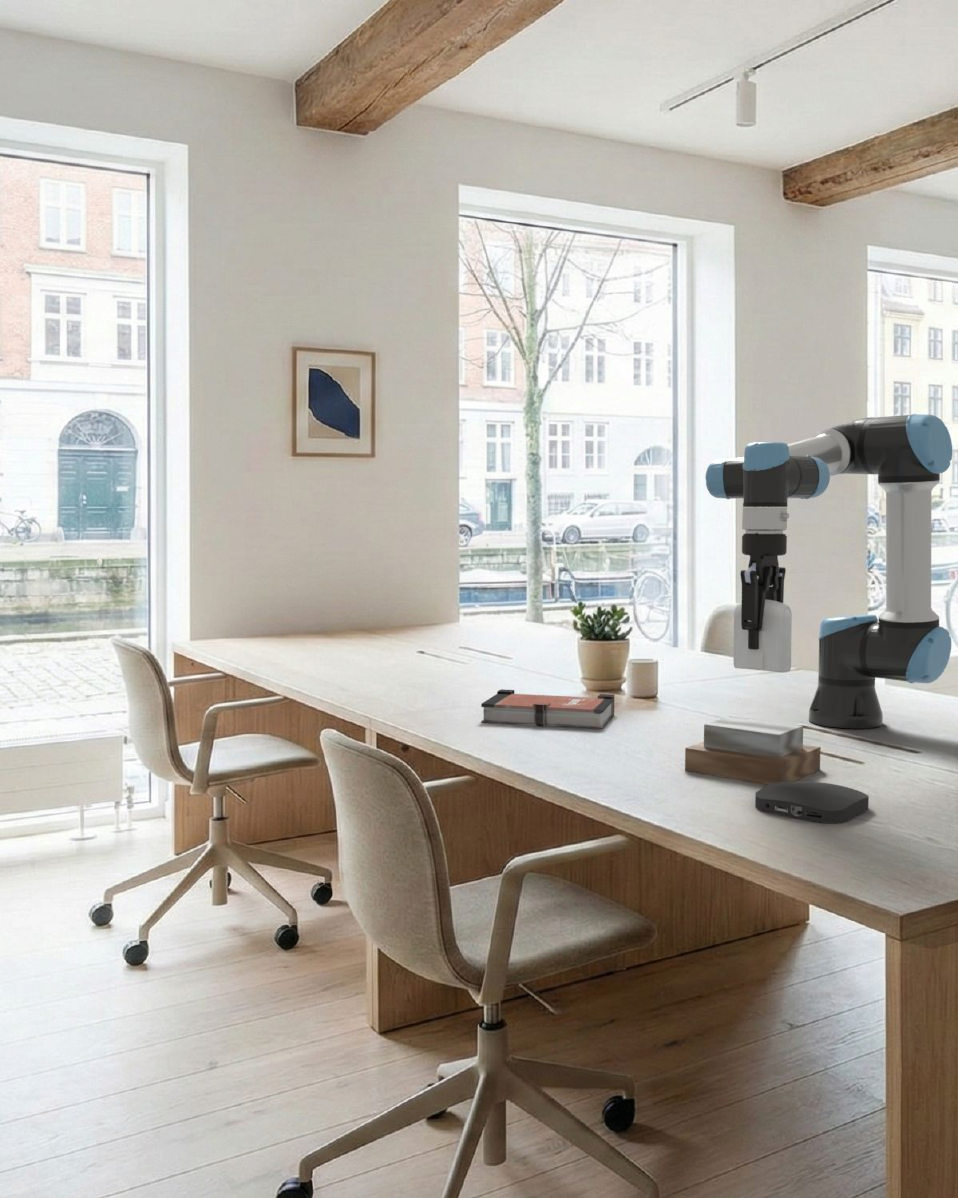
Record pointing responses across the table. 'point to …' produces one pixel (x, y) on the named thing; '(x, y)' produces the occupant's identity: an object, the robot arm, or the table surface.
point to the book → (549, 710)
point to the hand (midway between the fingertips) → (761, 665)
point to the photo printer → (767, 638)
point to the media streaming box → (812, 801)
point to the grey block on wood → (753, 751)
